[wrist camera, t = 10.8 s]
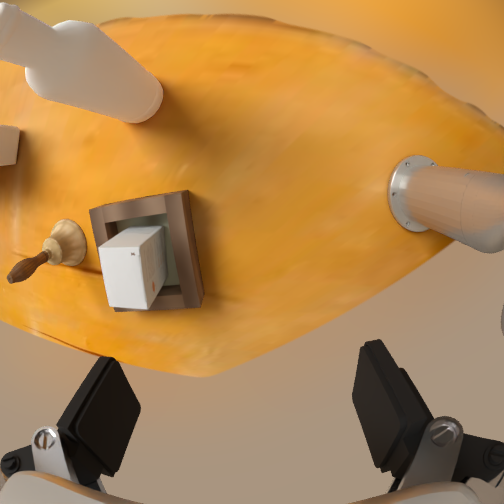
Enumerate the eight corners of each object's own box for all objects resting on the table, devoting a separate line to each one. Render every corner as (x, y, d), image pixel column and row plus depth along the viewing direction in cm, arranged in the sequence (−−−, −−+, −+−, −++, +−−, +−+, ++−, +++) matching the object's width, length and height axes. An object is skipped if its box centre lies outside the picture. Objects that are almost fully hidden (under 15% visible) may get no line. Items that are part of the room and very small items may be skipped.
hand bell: (91, 231, 38) (30, 265, 23) (81, 273, 40) (27, 318, 25) (57, 211, 37) (-8, 235, 22) (48, 252, 39) (-9, 287, 24)
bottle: (152, 129, 34) (-18, 84, 6) (108, 119, 33) (-58, 89, 5) (172, 79, 32) (53, -40, 3) (127, 71, 31) (-10, -12, 2)
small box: (130, 225, 37) (96, 245, 27) (165, 224, 38) (139, 245, 28) (136, 275, 40) (108, 308, 30) (169, 276, 40) (148, 311, 30)
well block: (187, 189, 37) (180, 193, 33) (204, 293, 42) (200, 307, 38) (103, 204, 37) (88, 209, 33) (125, 298, 42) (115, 311, 38)
